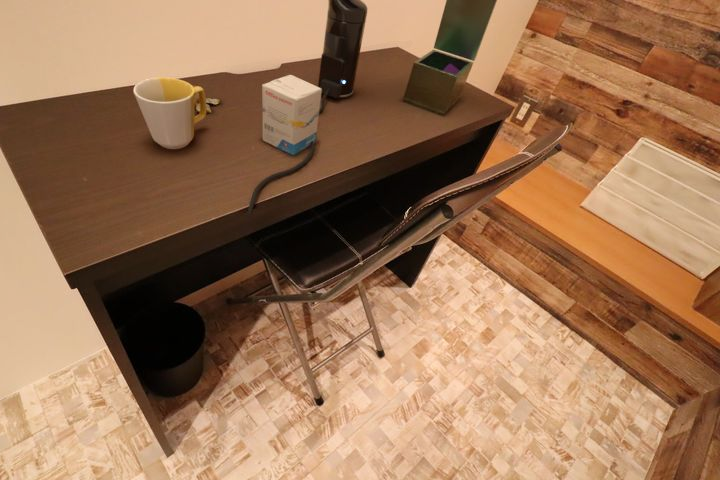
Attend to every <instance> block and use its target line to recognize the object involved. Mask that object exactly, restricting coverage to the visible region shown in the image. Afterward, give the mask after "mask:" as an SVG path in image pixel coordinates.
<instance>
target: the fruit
mask: <svg viewBox="0 0 720 480" xmlns="http://www.w3.org/2000/svg"><path fill="white" fill-rule="evenodd" d="M191 85H192V86H193V87H196V86H197V85H194V84H191ZM205 98H206V114H208V113H209V114H210V113H212V109H211V106H210V105H209V104H211V105H212V104H213V105H214V106H215V105H218V104H220V102H221V100H220V99H219V98H209V97H205ZM195 110H196V112H198V113H200V99H199V93H196V94H195Z"/></svg>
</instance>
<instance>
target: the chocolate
mask: <svg viewBox="0 0 720 480" xmlns="http://www.w3.org/2000/svg"><path fill="white" fill-rule="evenodd" d="M443 71H445V72H448V73H451V74H454V75H456V74H457V73H458V72H459V70H458V69H457V68H456V67H454V66H453V65H452V64H451V63H450V64H449V65H448V66H447V67H446V68H445V69H444V70H443Z"/></svg>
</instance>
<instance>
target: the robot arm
mask: <svg viewBox="0 0 720 480" xmlns="http://www.w3.org/2000/svg"><path fill="white" fill-rule="evenodd" d="M367 16H368V5H367V4H366V3H365V2H364V1H362V0H328V2H327V16H326V24H325V32H324V39H323V50H322V53H321V57H320V64H319V65H320V66H319V75H318V84H317V87H319V88H321V89H322V92H321V95H322V97H321V101H320V109H319V114H321V113H322V112H323V111H324V109H325V102H326V98H327V97H328V98H331V99H333V100H336V101H338V100H340V99H349V98H351V97H352V96H353V93H354V87H355V81H356V75H357V71H358V65H359V59H360V54H361V48H362V43H363V37H364V32H365V27H366V21H367V18H368V17H367ZM314 152H315V143H314V142H313V141H312V142H311V143H310V149H309V153H308V154H307V156H306V157H305V158H304V159H303V160H302V161H301V162H299V163H298V164H296V165H295V166H293V167H291V168H288V169H286V170H282V171H279V172H276V173H273V174H271V175H269V176H267V177H266V178H264V179H263V180H262V181H261V182H260V183H258V184H257V185H256V187H255V189H253V192H252V195H251V198H250V202H249V205H248V208H247V215H251V214H252V213H253V210H254V208H255V204H256V200H257V197H258V194H259V192H260V191H261V189H262V188H263V187H264V186H265V185H266V184H267V183H269V182H270V181H272V180H275V179H277V178H280V177H283V176H287V175H289V174H292V173H294V172H297V171H298V170H299V169H301V168H302V167H303V166H304V165H306V164H307V163H308V162H309V161H310V160H311V158H312V157H313V155H314Z"/></svg>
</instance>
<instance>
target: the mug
mask: <svg viewBox="0 0 720 480" xmlns="http://www.w3.org/2000/svg"><path fill="white" fill-rule="evenodd" d="M192 85H193V84H191V83H190V82H187V81H185V80H182V79H179V78H175V77H166V76H165V77H161V76H160V77H151V78H147V79H143V80H141V81H139V82H138V83H136V84H135V85H134V87H133V91H132V92H133V94H134V97H135V99H136V102H137V104H138V107H139V109H140V112H141V114H142V116H143V118H144V122H145V123H146V126H147V129H148V130H149V134H150V135H151V139H152V140H153V141H154V142H155V143H157V144H158V145H160V147H162V148H164V149H169V150H179V149H184V148H185V147H187V146H188V145H189V144H190V143H191V141H192V140H193V139H194V137H195V125H196V124H198V123H199V122H202V120H204V119H205V118H206V116H207V113H206V104H207V103H206V98H207V97H206V93H205V90H204V88H203V87H201V86H199V85H198V86H197V85H195V86H196V87H193V86H192ZM196 93H199V99H200V112H198V114H197V115H195V108H196V106H195V94H196Z"/></svg>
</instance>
